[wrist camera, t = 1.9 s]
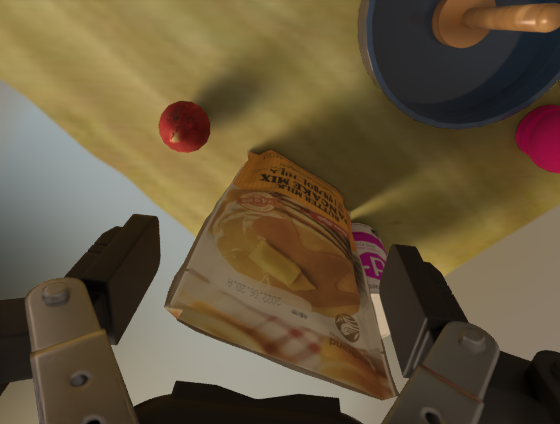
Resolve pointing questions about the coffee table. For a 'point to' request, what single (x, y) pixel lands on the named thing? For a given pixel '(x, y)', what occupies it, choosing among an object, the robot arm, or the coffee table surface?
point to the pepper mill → (541, 137)
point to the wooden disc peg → (489, 20)
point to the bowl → (454, 65)
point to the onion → (184, 126)
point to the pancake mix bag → (284, 278)
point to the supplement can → (372, 267)
